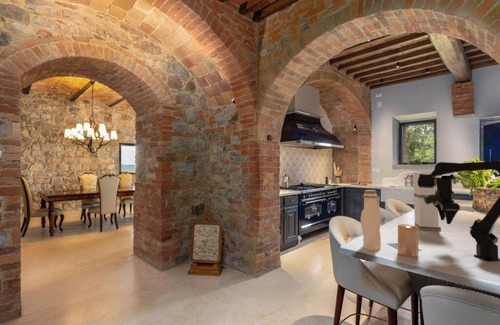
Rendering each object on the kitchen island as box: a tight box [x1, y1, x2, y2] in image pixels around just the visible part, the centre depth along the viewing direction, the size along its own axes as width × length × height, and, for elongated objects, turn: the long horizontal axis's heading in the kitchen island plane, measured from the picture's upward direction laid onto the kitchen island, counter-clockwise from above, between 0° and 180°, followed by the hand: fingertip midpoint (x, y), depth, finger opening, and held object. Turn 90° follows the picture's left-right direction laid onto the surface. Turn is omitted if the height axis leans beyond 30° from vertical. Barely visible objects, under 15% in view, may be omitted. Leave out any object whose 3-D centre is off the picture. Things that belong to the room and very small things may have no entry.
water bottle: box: [360, 189, 382, 251], centre depth 126 cm, size 10×9×28 cm
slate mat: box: [387, 242, 423, 252], centre depth 125 cm, size 12×10×1 cm
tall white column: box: [412, 171, 442, 232], centre depth 161 cm, size 11×11×35 cm
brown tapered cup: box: [397, 223, 419, 258], centre depth 115 cm, size 8×8×13 cm
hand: (445, 222), depth 121 cm, fingers open, 9 cm apart
